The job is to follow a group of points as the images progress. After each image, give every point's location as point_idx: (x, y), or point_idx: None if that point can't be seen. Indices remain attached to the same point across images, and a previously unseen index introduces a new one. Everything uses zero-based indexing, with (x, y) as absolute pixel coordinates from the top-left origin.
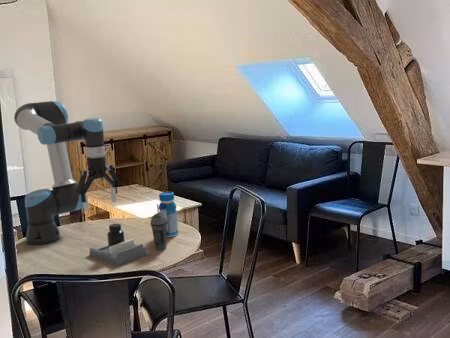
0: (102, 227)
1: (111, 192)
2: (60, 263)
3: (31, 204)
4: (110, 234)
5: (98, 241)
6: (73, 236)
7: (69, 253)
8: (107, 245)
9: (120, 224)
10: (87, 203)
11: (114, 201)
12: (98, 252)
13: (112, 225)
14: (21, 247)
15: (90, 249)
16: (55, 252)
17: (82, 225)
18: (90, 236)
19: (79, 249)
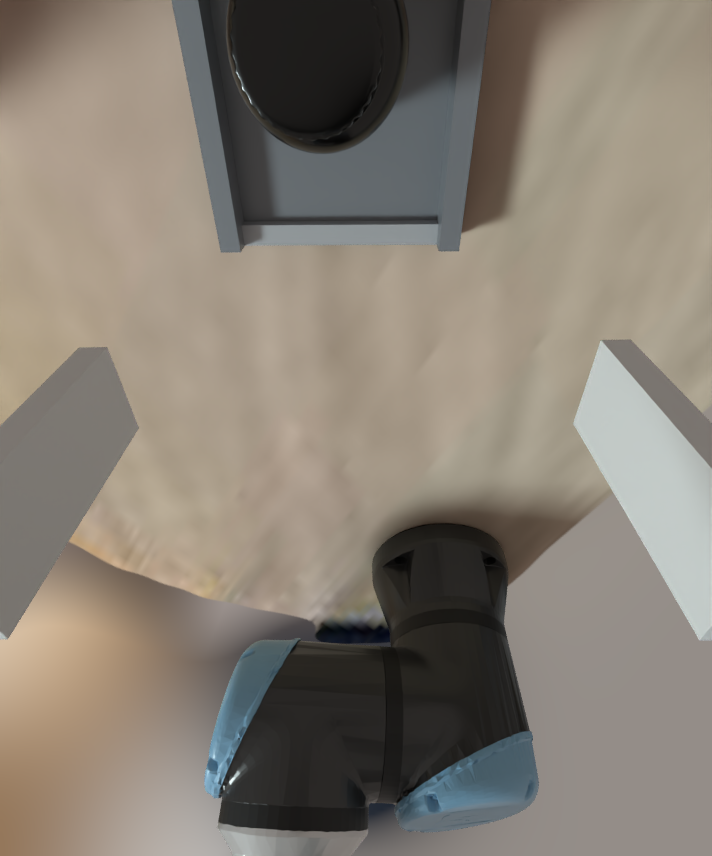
0: (188, 518)
1: (61, 522)
2: (638, 261)
3: (528, 744)
4: (399, 21)
5: (292, 388)
6: (339, 518)
7: (495, 357)
8: (321, 235)
9: (232, 13)
10: (669, 402)
11: (107, 369)
12: (476, 110)
13: (333, 73)
14: (540, 555)
15: (459, 236)
16: (519, 421)
17: (246, 581)
18: (285, 470)
19: (427, 366)
